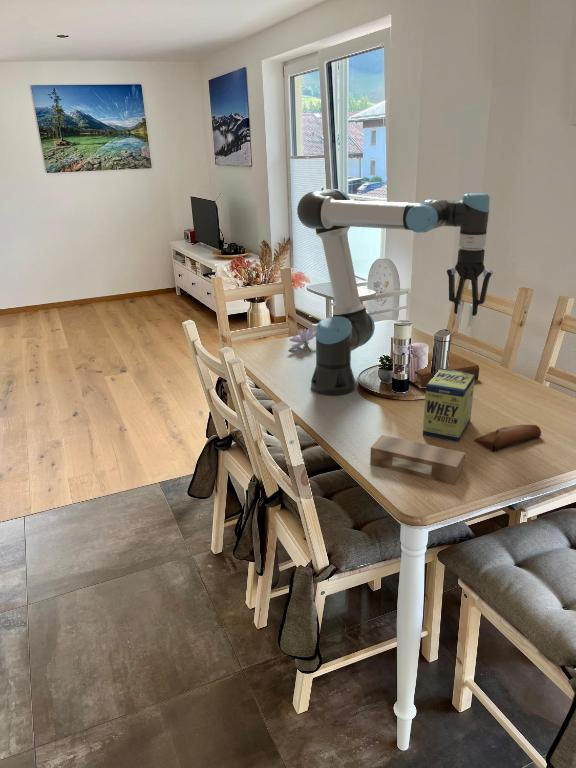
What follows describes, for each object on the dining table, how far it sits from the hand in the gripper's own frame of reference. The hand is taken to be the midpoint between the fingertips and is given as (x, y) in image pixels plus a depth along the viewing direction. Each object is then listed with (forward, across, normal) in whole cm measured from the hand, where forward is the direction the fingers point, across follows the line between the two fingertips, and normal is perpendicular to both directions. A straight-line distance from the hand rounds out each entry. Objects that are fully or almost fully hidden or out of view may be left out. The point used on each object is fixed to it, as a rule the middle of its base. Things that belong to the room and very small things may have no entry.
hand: (464, 324), depth 183 cm
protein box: (+25, +3, -24) cm, 35 cm away
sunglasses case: (+25, +20, -24) cm, 40 cm away
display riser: (+25, +2, -50) cm, 56 cm away
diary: (+25, -12, +16) cm, 32 cm away
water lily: (+25, -68, +22) cm, 76 cm away
